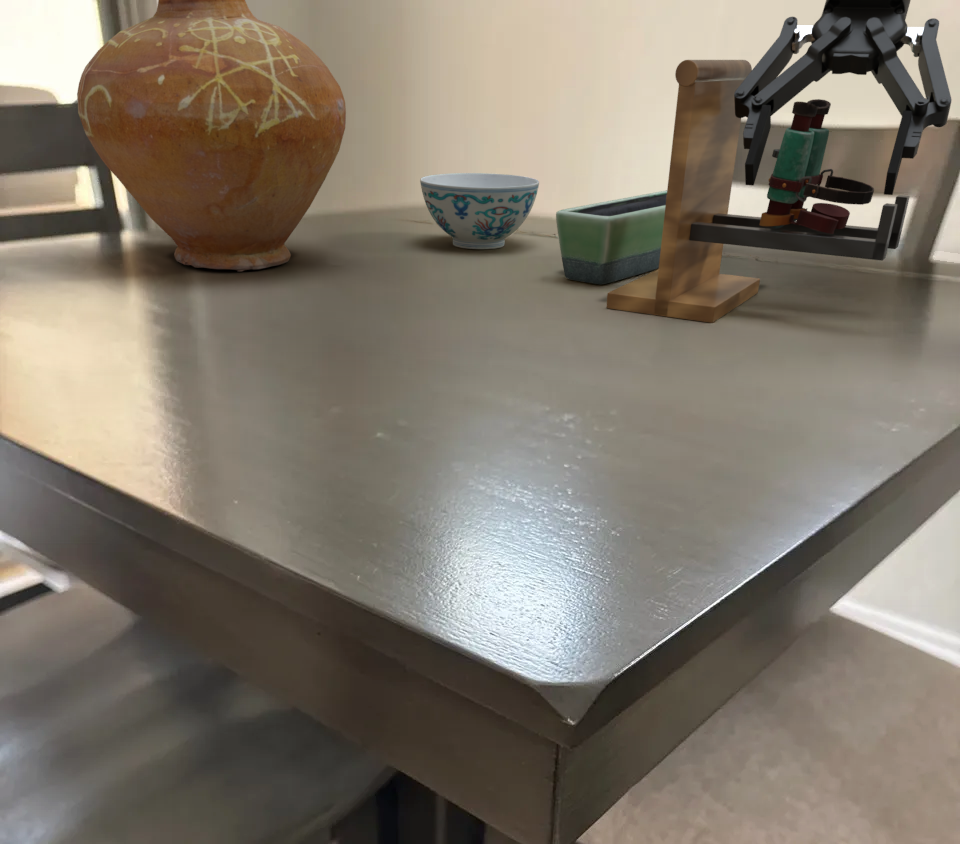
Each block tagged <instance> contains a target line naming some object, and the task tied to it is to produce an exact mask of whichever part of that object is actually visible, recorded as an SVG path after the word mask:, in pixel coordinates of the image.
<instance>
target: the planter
mask: <svg viewBox="0 0 960 844" xmlns="http://www.w3.org/2000/svg"><path fill="white" fill-rule="evenodd" d="M666 197H667V189H666V190H660V191H656V192H655V191H654V192H650V193H646V194H639V195H633V196H628V197H622V198H617V199H612V200H606V201H601V202H596V203H595V202H594V203H590V204H585V205H580V206H575V207H574V206H573V207H569V208H563V209H560V210H557V211H556V213H555V220H556V229H557V236H558V243H559V249H560V250H559V251H560V256H561V262H562V268H563V273H564V274H563V275H564V278H565V279H567V280H572V281H574V282H575V281H576V282H580V283H581V282H582V283H587V284H594V285H606V284H611V283H614V282H617V281H621V280H624V279H628V278H632V277H634V276H638V275H641V274H645V273H650V272H653V271H656V270H658V269H659V261H660V252H661V243H662V233H663V224H664V215H665V206H666Z"/></svg>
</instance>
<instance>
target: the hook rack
mask: <svg viewBox="0 0 960 844" xmlns="http://www.w3.org/2000/svg"><path fill="white" fill-rule="evenodd" d="M752 70H753V68H752V64H751V63H750V62H749V61H748V60H746V59H684V60H683V61H681V62H679V63H678V65H677V66H676V68H675V73H674V74H675V75H674V76H675V77H674V78H675V80H676V82H677V84H678V89H677V97H676V98H677V99H676V106H675V115H674V116H675V118H674V126H673V135H672V144H671V153H670V160H669V162H670V163H669V171H668V180H667V189H666V190H667V197H666V206H665V215H664V224H663V233H662V243H661V252H660V261H659V269H655V270H653V271H650V272H648V273H647V274H645V275H643V276H641V277H638V278H637V279H634V280H632V281H630V282H628V283H626V284H623V285H621V286H619V287H616V288H615V289H613V290H611V291H609V292H607V294H606V295H607V296H606V309H611V310H617V311H623V312H631V313H639V314H644V315H652V316H660V317H665V318H666V317H667V318H673V319H681V320H682V319H683V320H689V321H695V322H703V323H710V324H711V323H712V324H713V323H715V322H716V321H718V320H719V319H721V318H722V317H724V316H725V315H727V314H729V313H730V312H731V311H734V309H736V308H737V307H739V306H741V305H742V304H744V303H745V302H747V301H748V300H750V299H751V298H753V297H755V295H757V294H758V293H759V288H760V281H761V278H757V277H750V276H742V275H735V274H734V275H732V274H726V273H725V274H724V273H720V271H721V265H722V264H721V263H722V257H723V250H724V245H730V246H740V247H748V248H749V247H750V248H759V249H769V250H778V251H789V252H797V253H807V254H815V255H826V256H834V257H843V258H853V259H862V260H872V261H873V260H874V261H884V260H885V259H886V257H887V255H888V249H890V250H896V249H897V248H898V247H899V245H900V241H901V236H902V231H903V227H904V223H905V219H906V218H905V217H906V215H907V210H908V206H909V202H910V197H911V196H910V195H906V194H905V195H903V194H899V195H897V196H896V197H895V201H894V203H884V204H883V205H882V207H881V208H882V209H881V212H880V217H879V222H878V225H877V227H870V226H860V225H859V226H857V225H847V224H846V226H845V227H844V228H842V229H835V230H834V233H833V234H830V233H825V232H821V231H818V230H814V229H811V228H808V227H805V226H802V225H796V224H793V223H791V224H788V225H784V226H783V227H781V228H772V227H770V226H760V225H759V224H760V220H761V216H751V215H742V214H741V215H739V214H729V207H730V206H729V205H730V200H731V193H732V187H733V186H732V185H733V179H734V171H735V167H736V158H737V151H738V144H739V138H740V137H739V136H740V129H741V123H742V118H737V117H736V116H735V102H734V93H735V91H736V90H737V88H738V87H739V86H740V85H741V83H742V82H743V81H744V80H745V78H746V77H747V76H748V75H749V73H750V72H751V71H752ZM796 221H797V220H796ZM796 221H794V222H796Z"/></svg>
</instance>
